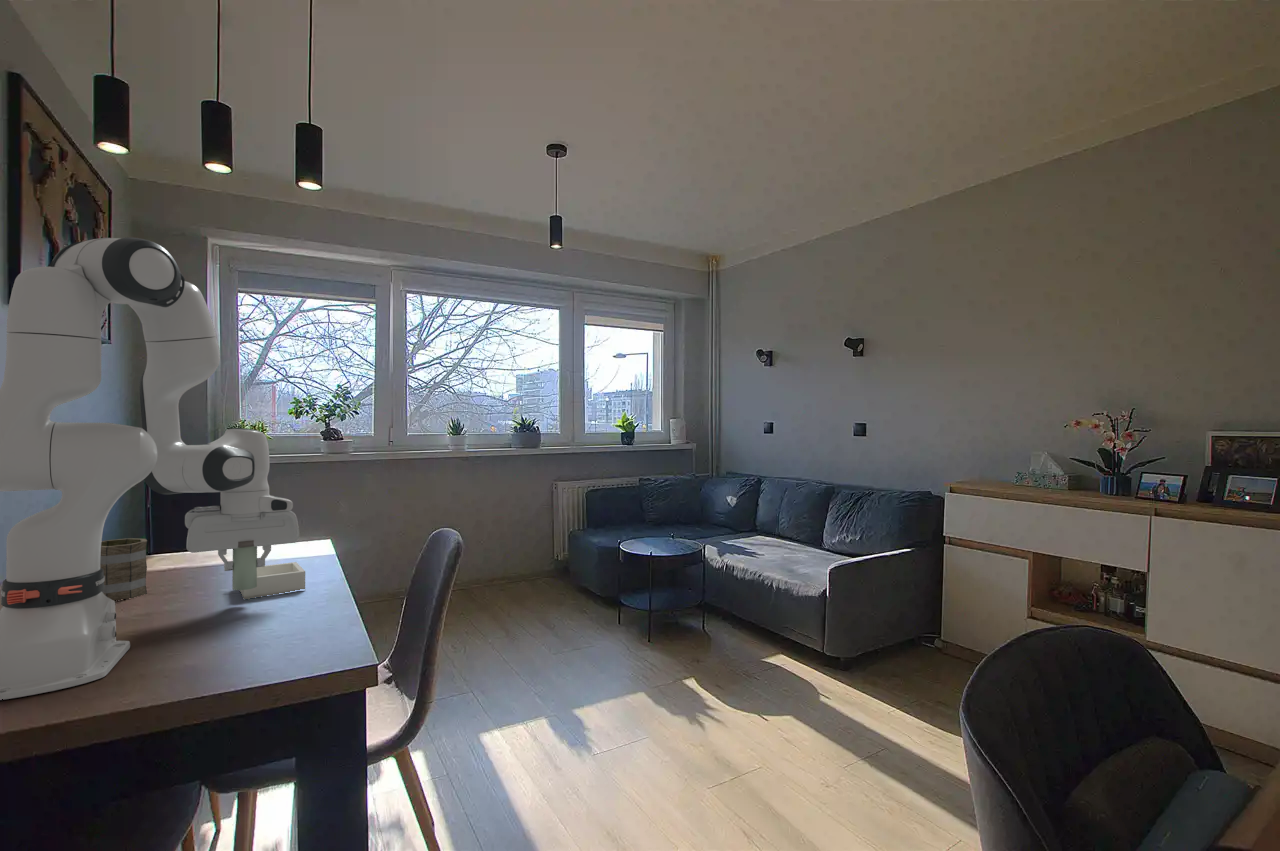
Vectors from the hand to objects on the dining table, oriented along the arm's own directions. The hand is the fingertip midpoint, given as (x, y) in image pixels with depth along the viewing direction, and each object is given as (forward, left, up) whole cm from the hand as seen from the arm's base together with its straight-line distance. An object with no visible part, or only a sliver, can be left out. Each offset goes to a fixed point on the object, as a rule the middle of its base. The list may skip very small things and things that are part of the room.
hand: (244, 568), depth 130 cm
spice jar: (0, 0, -4) cm, 4 cm away
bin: (+10, -6, -8) cm, 14 cm away
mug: (+27, +23, -8) cm, 36 cm away
